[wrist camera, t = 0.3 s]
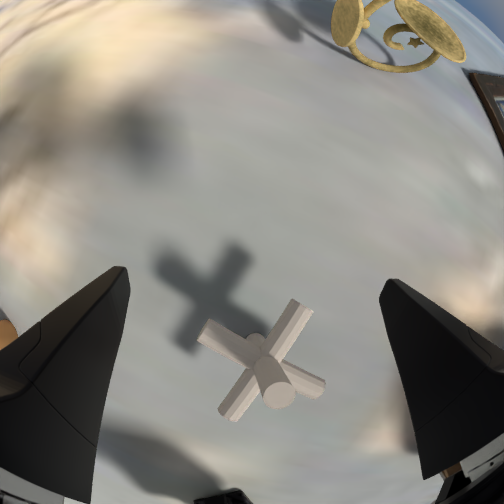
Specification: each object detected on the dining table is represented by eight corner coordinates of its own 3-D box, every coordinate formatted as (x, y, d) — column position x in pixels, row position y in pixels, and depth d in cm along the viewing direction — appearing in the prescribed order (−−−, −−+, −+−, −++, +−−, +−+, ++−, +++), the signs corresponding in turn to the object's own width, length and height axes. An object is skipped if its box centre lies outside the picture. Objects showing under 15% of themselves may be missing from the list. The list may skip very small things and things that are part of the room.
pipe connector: (177, 359, 23) (157, 419, 13) (236, 264, 23) (251, 272, 14) (270, 406, 24) (297, 473, 14) (329, 321, 24) (389, 355, 15)
